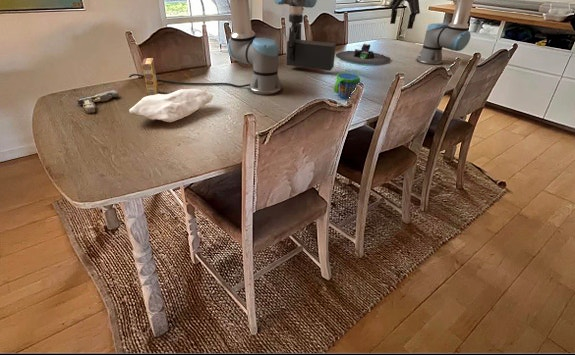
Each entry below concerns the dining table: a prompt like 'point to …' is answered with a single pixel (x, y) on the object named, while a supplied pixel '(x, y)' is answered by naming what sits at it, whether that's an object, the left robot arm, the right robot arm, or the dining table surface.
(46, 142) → the dining table surface
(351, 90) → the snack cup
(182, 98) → the crumpled cloth
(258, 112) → the dining table surface
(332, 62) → the box
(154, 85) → the candy box
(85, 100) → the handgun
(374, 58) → the grey disc with mount
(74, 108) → the dining table surface
